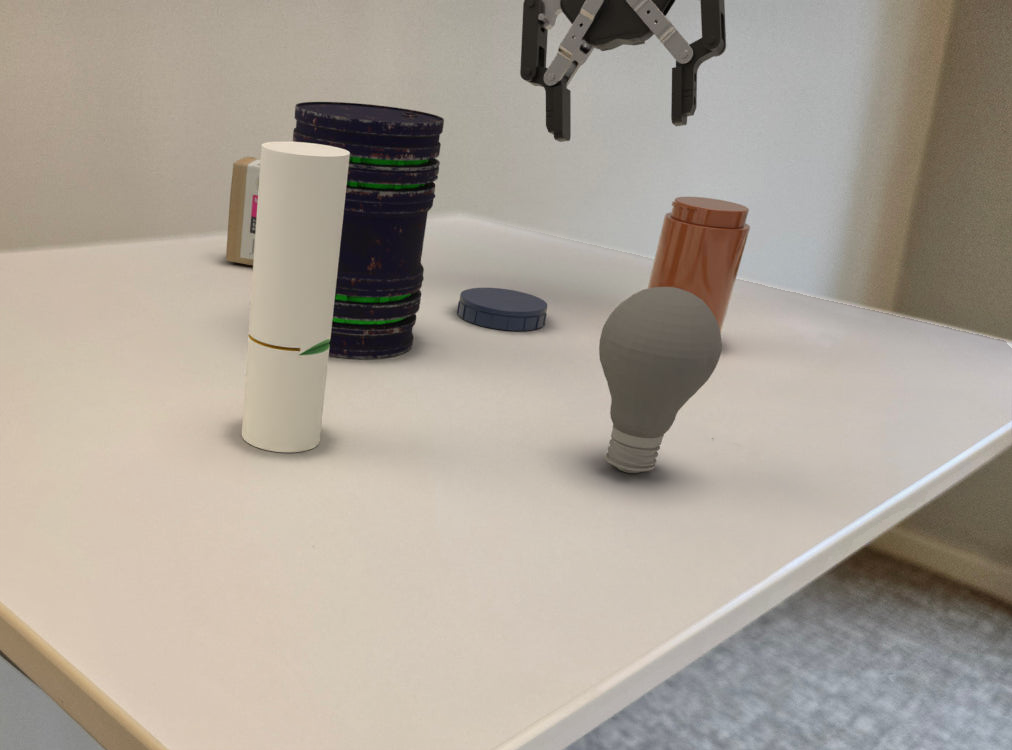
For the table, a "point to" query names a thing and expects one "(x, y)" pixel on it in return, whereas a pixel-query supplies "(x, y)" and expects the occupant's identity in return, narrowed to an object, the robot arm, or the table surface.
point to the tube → (293, 293)
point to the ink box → (243, 211)
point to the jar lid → (502, 309)
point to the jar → (702, 250)
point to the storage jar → (378, 219)
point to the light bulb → (654, 368)
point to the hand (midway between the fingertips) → (619, 132)
